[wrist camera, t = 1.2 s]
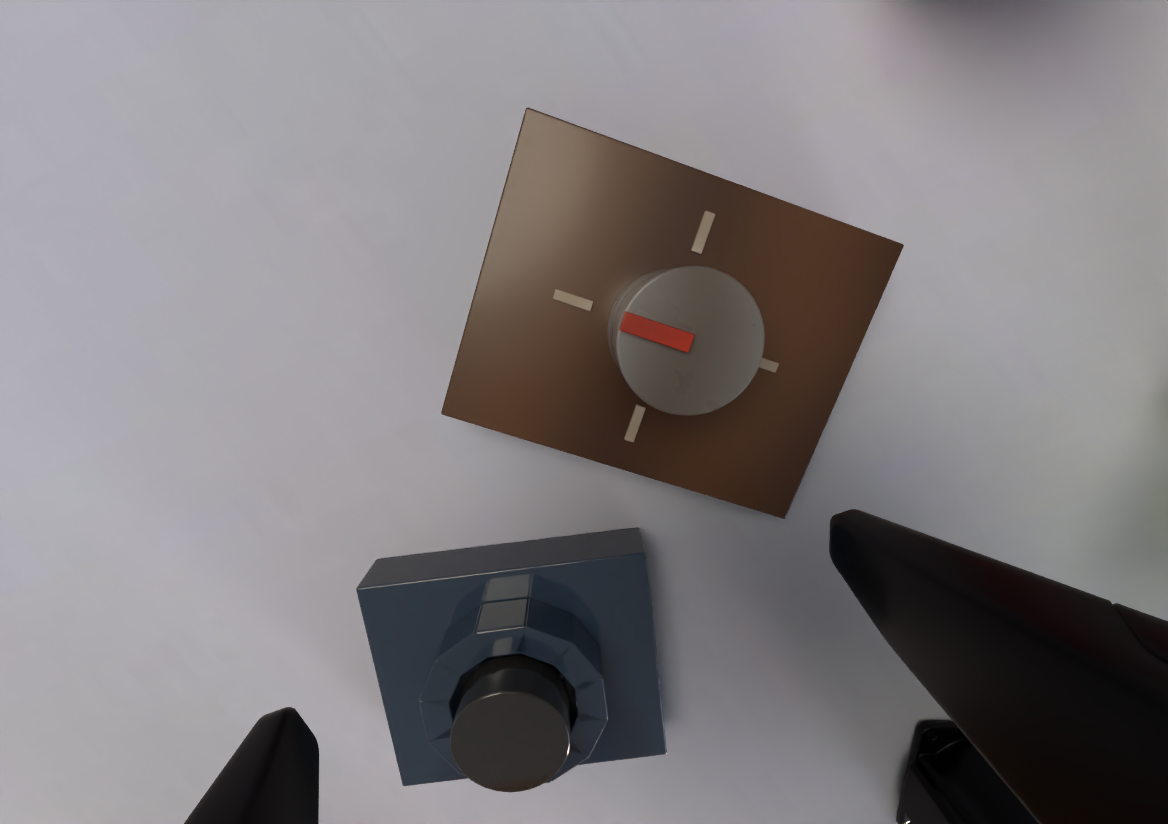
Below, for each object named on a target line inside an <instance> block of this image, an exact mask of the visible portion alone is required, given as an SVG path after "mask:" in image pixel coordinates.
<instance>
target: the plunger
mask: <svg viewBox="0 0 1168 824" xmlns="http://www.w3.org/2000/svg"><path fill="white" fill-rule="evenodd" d="M450 748H451V752H452V756H453V758H454V760H455V763H456V764H457V766H458V767H459V769H460V770H461V771H462V772H463V773H464V774H465V775H466V776H467V777H468V778H469V779H471V780H472V781H473V782H475V783H477V784H479V785H481V786H483V787H485V788H488V789H492V790H495V791H502V792H519V791H525V790H529V789H532V788H535V787H537V786H540V785H541V784H543V783H545V782H547V781H548V780H549V779H551V778H552V777H553V776H554V775H555V774H556V773H557V772H558V771H559V770H560V769H561V767H562V766H563V764H564V762H565V760H566V758H567V756H568V752H569V748H570V697H569V693H568V690H567V687H566V685H565V683H564V681H563V680H562V678H561V677H560V676H559V674H558V673H557V672H556V671H555V670H554V669H552V668H551V667H550V666H548V665H546V664H545V663H543V662H541V661H539V660H536V659H533V658H530V657H524V656H505V657H500V658H496V659H493V660H491V661H489V662H486V663H485V664H483V665H481V666H480V667H479V668H477V669H476V670H475V671H474V672H473V673H472V674H471V675H470V676H469V678H468V679H467V680H466V682H465V684H464V686H463V688H462V691H461V694H460V698H459V702H458V706H457V710H456V713H455V717H454V721H453V725H452V729H451V734H450Z"/></svg>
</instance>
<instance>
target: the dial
mask: <svg viewBox="0 0 1168 824" xmlns="http://www.w3.org/2000/svg"><path fill="white" fill-rule="evenodd" d="M607 339H608V345H609V349H610V353H611V355H612V357H613V360H614V361H615V363H616V365H617V367H618V368H619V370H620V372H621V374H622V375H623V377H624V379H625V380H626V382H627V384H628V385H629V387H630V388H631V389H632V391H633V392H634V393H635V394H636V395H637V396H638V397H639V398H640V399H642V400H643V401H644V402H646V403H647V404H648V405H650V406H652V407H654V408H655V409H658V410H660V411H663V412H666V413H670V414H674V415H682V416H690V415H699V414H704V413H708V412H712V411H714V410H716V409H719V408H721V407H723V406H724V405H726V404H728V403H730V402H731V401H732V400H734V399H735V398H736V397H737V396H738V395H739V394H741V393H742V392H743V391H744V389H745V388H746V387H747V386H748V385H749V383H750V382H751V380H752V379H753V377H754V376H755V374H756V372H757V370H758V367H759V365H760V362H761V359H762V356H763V350H764V342H765V332H764V324H763V319H762V316H761V313H760V310H759V307H758V306H757V304H756V302H755V300H754V298H753V297H752V295H751V294H750V292H749V291H748V290H747V289H746V288H745V287H744V286H743V285H742V284H741V283H740V282H739V281H737V280H736V279H735V278H733V277H732V276H730V275H728V274H727V273H724V272H722V271H720V270H717V269H713V268H710V267H704V266H683V267H676V268H669V269H662V270H656V271H653V272H649V273H647V274H645V275H642V276H641V277H639V278H637V279H636V280H634V281H633V282H632V283H630V284H629V285H628V286H627V287H626V288H625V289H624V290H623V291H622V292H621V294H620V295H619V296H618V298H617V300H616V301H615V303H614V305H613V307H612V310H611V312H610V316H609V320H608V326H607Z"/></svg>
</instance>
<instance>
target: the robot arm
mask: <svg viewBox="0 0 1168 824" xmlns="http://www.w3.org/2000/svg"><path fill="white" fill-rule="evenodd" d="M829 552H830V557H831V560H832V562H833V564H834V565H835V567H836V568H837V570H838V571H839V573H840V574H841V576H842V577H843V579H844V580H845V582H846V583H847V585H848V586H849V587H850V589H851V590H852V592H853V593H854V595H855V596H856V598H857V599H858V601H859V602H860V604H861V605H862V607H863V608H864V609H865V611H866V612H867V614H868V615H869V617H870V618H871V620H872V621H873V623H874V624H875V626H876V627H877V628H878V630H879V631H880V633H881V634H882V635H883V637H884V638H885V640H886V641H887V642H888V644H889V645H890V646H891V647H892V649H893V650H894V651H895V652H896V654H897V655H898V656H899V657H900V658H901V660H902V661H903V662H904V663H905V664H906V666H907V667H908V668H909V669H910V670H911V672H912V673H913V674H914V675H915V676H916V677H917V679H918V680H919V681H920V682H921V683H922V685H923V686H924V687H925V688H926V689H927V691H928V692H929V693H930V694H931V695H932V697H933V698H934V699H935V700H936V701H937V703H938V704H939V705H940V706H941V707H942V709H943V710H944V711H945V712H946V713H947V714H948V716H949V717H950V718H951V719H952V720H953V722H937V721H926V722H923V723H921V724H920V725H919V726H918V727H917V729H916V733H915V738H914V742H913V747H912V751H911V756H910V760H909V764H908V769H907V773H906V778H905V782H904V787H903V791H902V796H901V800H900V805H899V809H898V814H897V818H896V821H897V823H898V824H1168V621H1165V620H1163V619H1160V618H1157V617H1154V616H1151V615H1148V614H1145V613H1143V612H1140V611H1137V610H1134V609H1132V608H1129V607H1126V606H1123V605H1121V604H1117V603H1115V604H1112V603H1111V602H1110V601H1109V600H1106V599H1103V598H1101V597H1098V596H1095V595H1092V594H1090V593H1087V592H1084V591H1081V590H1079V589H1076V588H1073V587H1070V586H1068V585H1065V584H1062V583H1059V582H1056V581H1054V580H1051V579H1048V578H1045V577H1043V576H1040V575H1037V574H1034V573H1032V572H1029V571H1026V570H1023V569H1020V568H1018V567H1015V566H1012V565H1009V564H1007V563H1004V562H1001V561H998V560H996V559H993V558H990V557H987V556H984V555H982V554H979V553H976V552H973V551H971V550H968V549H965V548H962V547H960V546H957V545H954V544H951V543H949V542H946V541H943V540H940V539H937V538H935V537H932V536H929V535H926V534H924V533H921V532H918V531H915V530H913V529H910V528H907V527H904V526H901V525H899V524H896V523H893V522H890V521H888V520H885V519H882V518H879V517H877V516H874V515H871V514H868V513H865V512H863V511H860V510H856V509H851V510H848V511H845V512H842V513H839V514H836V515H834V516H833V517H832V518H831V520H830V540H829ZM318 807H319V748H318V743H317V740H316V738H315V736H314V734H313V733H312V732H311V730H310V729H309V727H308V726H307V725H306V723H305V722H304V721H303V719H302V718H301V716H300V715H299V714H298V712H297V711H296V710H295V709H294V708H291V707H286V708H283V709H280V710H277V711H275V712H272V713H269V714H266V715H264V716H263V717H261V718H260V719H259V720H258V721H257V723H256V724H255V725H254V727H253V728H252V730H251V731H250V732H249V734H248V735H247V736H246V738H245V739H244V741H243V742H242V743H241V745H240V746H239V748H238V749H237V750H236V752H235V753H234V755H233V756H232V757H231V759H230V760H229V762H228V763H227V764H226V766H225V767H224V768H223V770H222V771H221V773H220V774H219V775H218V777H217V778H216V780H215V781H214V782H213V784H212V785H211V787H210V788H209V789H208V791H207V792H206V794H205V795H204V796H203V798H202V799H201V801H200V802H199V803H198V805H197V806H196V807H195V809H194V810H193V812H192V813H191V814H190V816H189V817H188V819H187V820H186V821H185V823H184V824H318Z"/></svg>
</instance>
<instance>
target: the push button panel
mask: <svg viewBox="0 0 1168 824" xmlns="http://www.w3.org/2000/svg"><path fill="white" fill-rule="evenodd" d="M356 590H357V594H358V599H359V603H360V607H361V611H362V615H363V620H364V624H365V628H366V632H367V636H368V641H369V645H370V649H371V653H372V658H373V662H374V666H375V670H376V674H377V679H378V683H379V687H380V691H381V695H382V700H383V704H384V708H385V712H386V716H387V721H388V725H389V729H390V733H391V738H392V742H393V746H394V750H395V754H396V759H397V763H398V767H399V771H400V775H401V780H402V784H403V786H409V785H418V784H426V783H434V782H442V781H451V780H459V779H467V778H468V777H467V776H466V775H465V774H464V773H463V772H462V771H461V770H460V769H459V767H458V766H457V764H456V763H455V760H454V758H453V756H452V752H451V748H450V734H451V729H452V725H453V721H454V717H455V713H456V710H457V706H458V702H459V698H460V694H461V691H462V688H463V686H464V684H465V682H466V680H467V679H468V678H469V676H470V675H471V674H472V673H473V672H474V671H475V670H476V669H477V668H479V667H480V666H481V665H483V664H485V663H486V662H489V661H491V660H493V659H496V658H500V657H505V656H524V657H530V658H533V659H536V660H539V661H541V662H543V663H545V664H546V665H548V666H550V667H551V668H552V669H554V670H555V671H556V672H557V673H558V674H559V676H560V677H561V678H562V680H563V681H564V683H565V685H566V687H567V690H568V693H569V697H570V748H569V752H568V756H567V758H566V760H565V762H564V764H563V766H562V767H561V769H560V770H559V771H558V772H557V773H556V774H555V775H554V776H553V777H552V778H551V779H549V780H548V781H547V782H545V783H549V782H551V781H553V780H555V779H556V778H558V777H559V776H561V775H563V774H564V773H566V772H567V771H569V770H570V769H572V768H573V767H575V766H577V765H582V764H590V763H598V762H606V761H615V760H623V759H631V758H639V757H648V756H656V755H664V754H666V753H667V748H666V738H665V729H664V719H663V709H662V700H661V690H660V680H659V670H658V661H657V651H656V641H655V632H654V622H653V612H652V602H651V593H650V583H649V573H648V564H647V554H646V550H645V547H644V543H643V540H642V536H641V533H640V529H639V528H630V529H622V530H614V531H606V532H598V533H590V534H581V535H573V536H565V537H557V538H549V539H541V540H532V541H524V542H516V543H508V544H500V545H492V546H483V547H475V548H467V549H459V550H451V551H443V552H434V553H426V554H418V555H410V556H402V557H394V558H385V559H377V560H376V561H375V562H374V564H373V565H372V567H371V568H370V569H369V571H368V572H367V574H366V575H365V577H364V578H363V579H362V581H361V582H360V584H359V585H358V587H357V589H356Z"/></svg>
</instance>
